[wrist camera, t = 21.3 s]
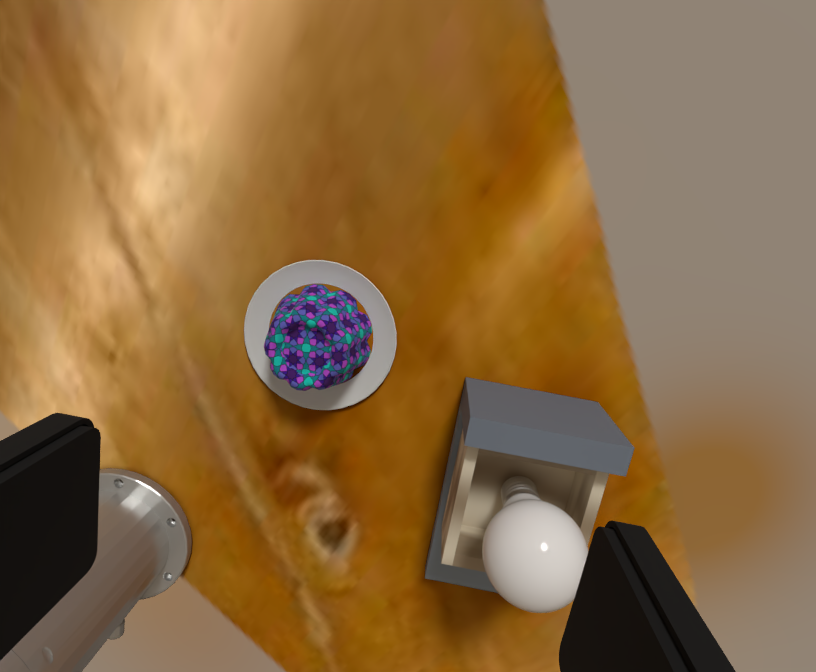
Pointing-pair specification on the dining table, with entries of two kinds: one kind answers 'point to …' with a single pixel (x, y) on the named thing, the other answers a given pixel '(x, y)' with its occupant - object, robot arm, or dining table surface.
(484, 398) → the base
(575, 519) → the box
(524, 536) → the lightbulb
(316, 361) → the pudding
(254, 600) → the dining table surface
